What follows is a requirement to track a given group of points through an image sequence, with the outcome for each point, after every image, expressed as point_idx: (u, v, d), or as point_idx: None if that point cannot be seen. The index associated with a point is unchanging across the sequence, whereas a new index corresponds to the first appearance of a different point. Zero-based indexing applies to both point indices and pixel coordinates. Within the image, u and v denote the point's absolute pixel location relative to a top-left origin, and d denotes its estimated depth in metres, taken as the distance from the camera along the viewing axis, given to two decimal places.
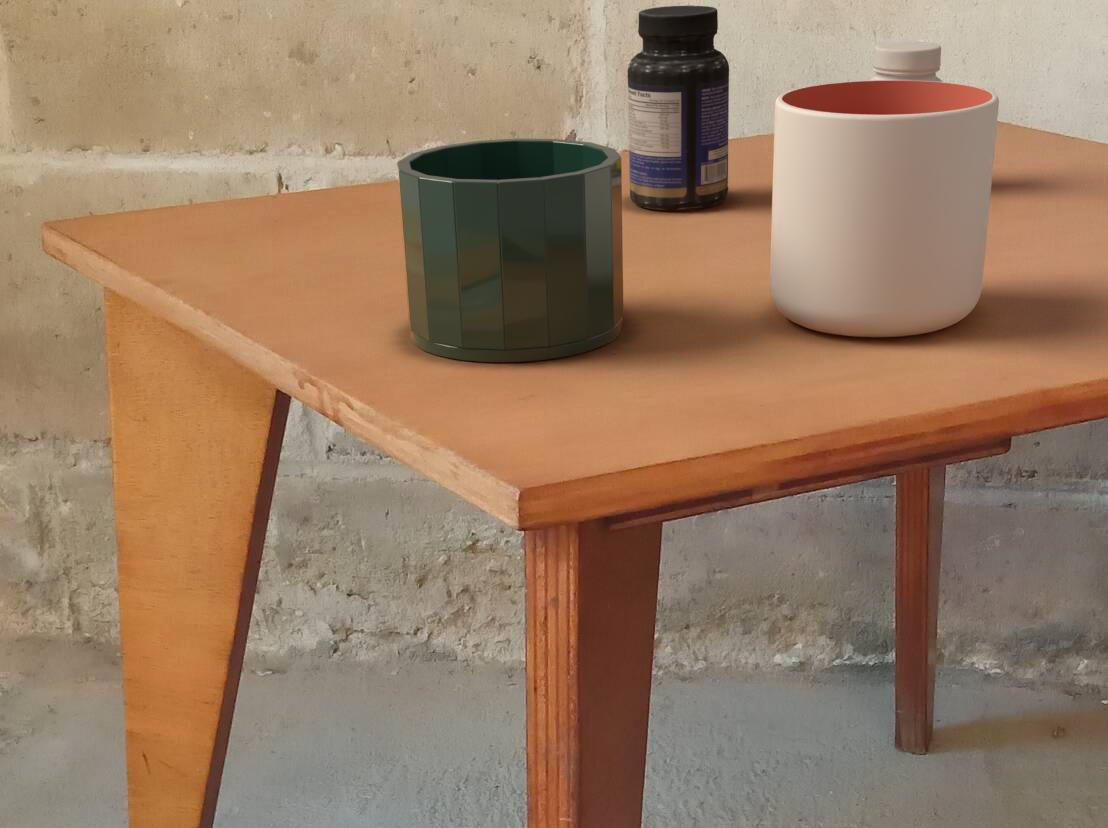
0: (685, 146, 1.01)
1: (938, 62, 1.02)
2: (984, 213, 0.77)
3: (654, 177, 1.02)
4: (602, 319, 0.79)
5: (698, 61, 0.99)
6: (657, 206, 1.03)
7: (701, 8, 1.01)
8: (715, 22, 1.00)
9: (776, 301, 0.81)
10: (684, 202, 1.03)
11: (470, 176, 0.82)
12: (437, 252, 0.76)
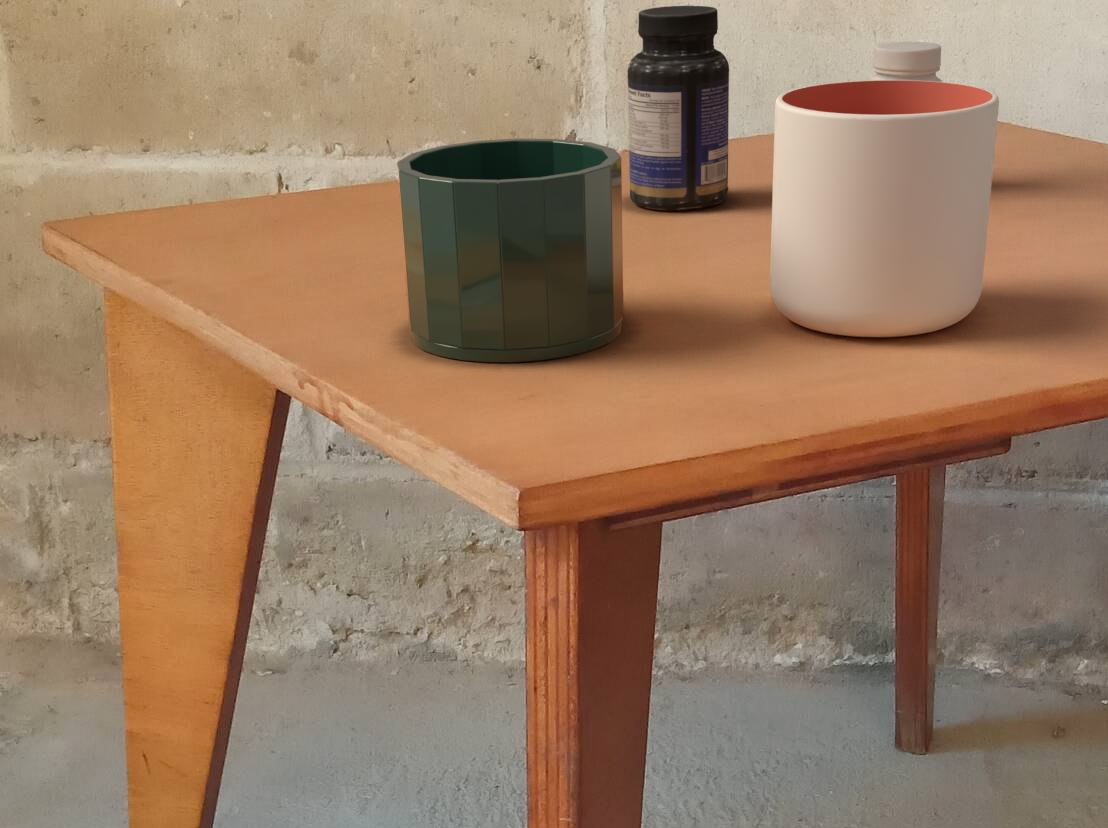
0: (685, 146, 1.01)
1: (938, 62, 1.02)
2: (984, 213, 0.77)
3: (654, 177, 1.02)
4: (602, 319, 0.79)
5: (698, 61, 0.99)
6: (657, 206, 1.03)
7: (701, 8, 1.01)
8: (715, 22, 1.00)
9: (776, 301, 0.81)
10: (684, 202, 1.03)
11: (470, 176, 0.82)
12: (437, 252, 0.76)
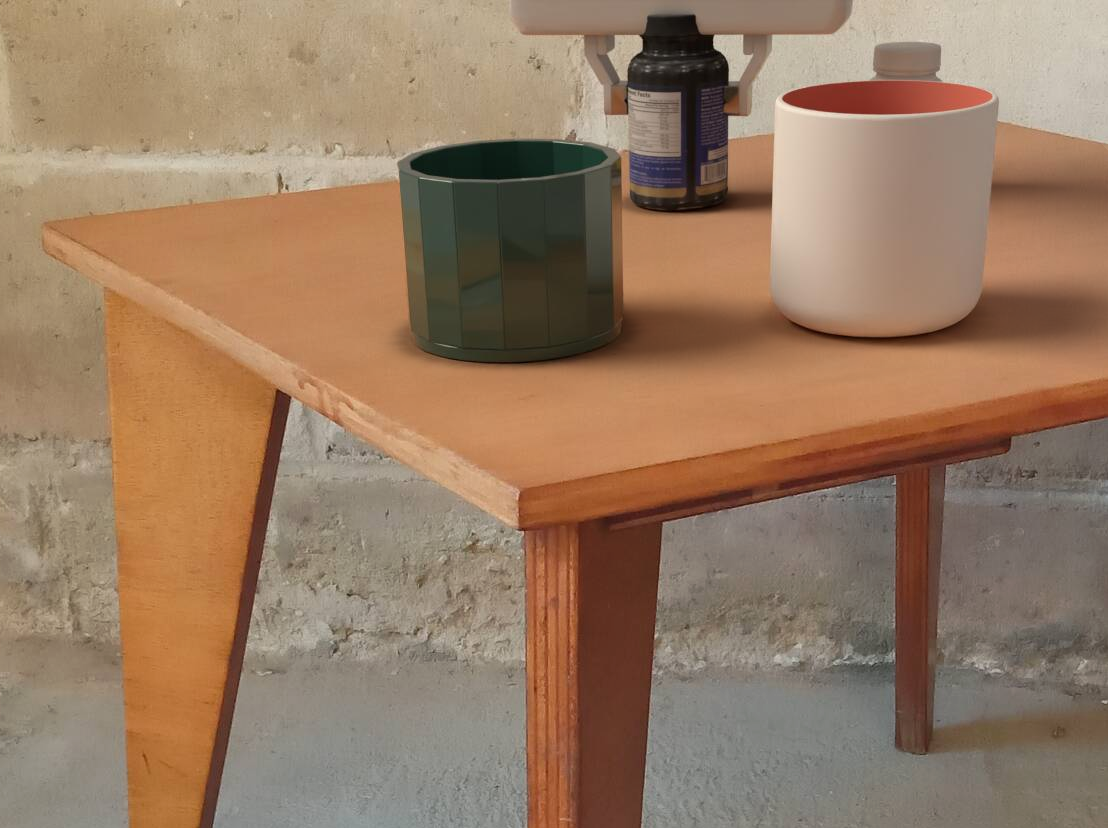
0: (685, 146, 1.01)
1: (938, 62, 1.02)
2: (984, 213, 0.77)
3: (654, 177, 1.02)
4: (602, 319, 0.79)
5: (698, 61, 0.99)
6: (657, 206, 1.03)
7: None
8: None
9: (776, 301, 0.81)
10: (684, 202, 1.03)
11: (470, 176, 0.82)
12: (437, 252, 0.76)
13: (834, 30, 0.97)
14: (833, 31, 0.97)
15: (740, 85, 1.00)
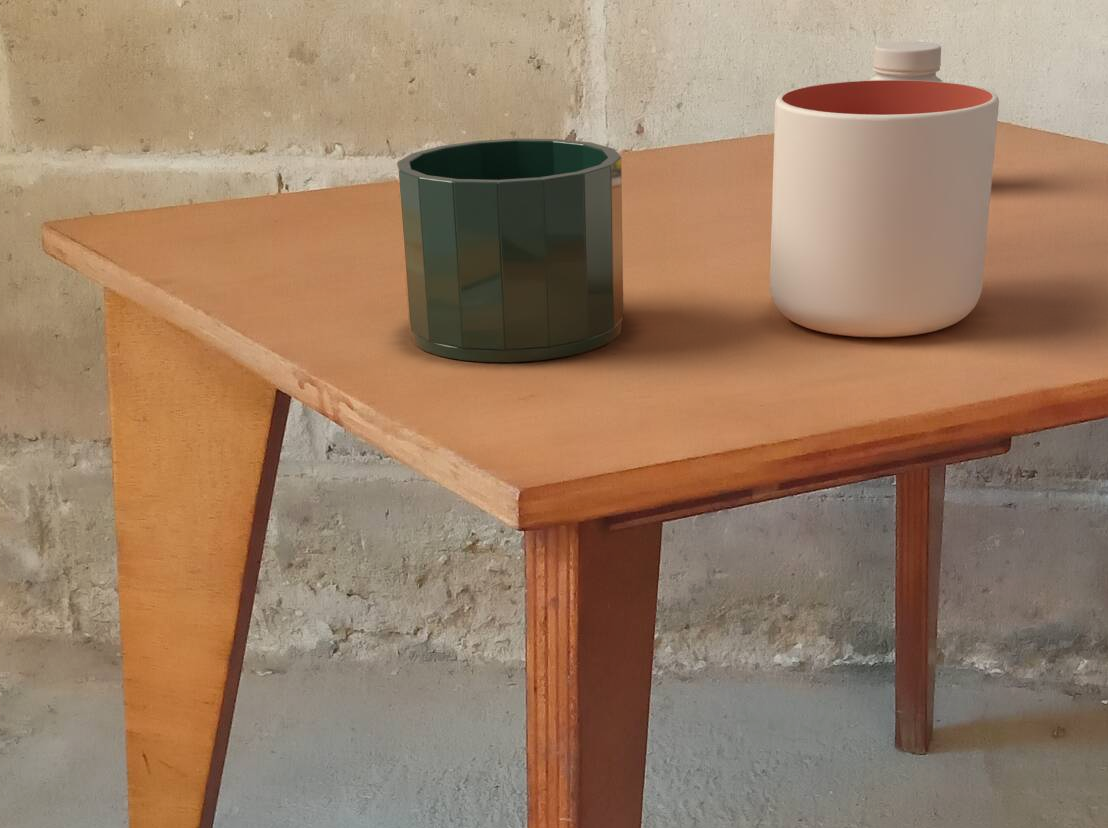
0: None
1: (938, 62, 1.02)
2: (984, 213, 0.77)
3: None
4: (602, 319, 0.79)
5: None
6: None
7: None
8: None
9: (776, 301, 0.81)
10: None
11: (470, 176, 0.82)
12: (437, 252, 0.76)
13: None
14: None
15: None
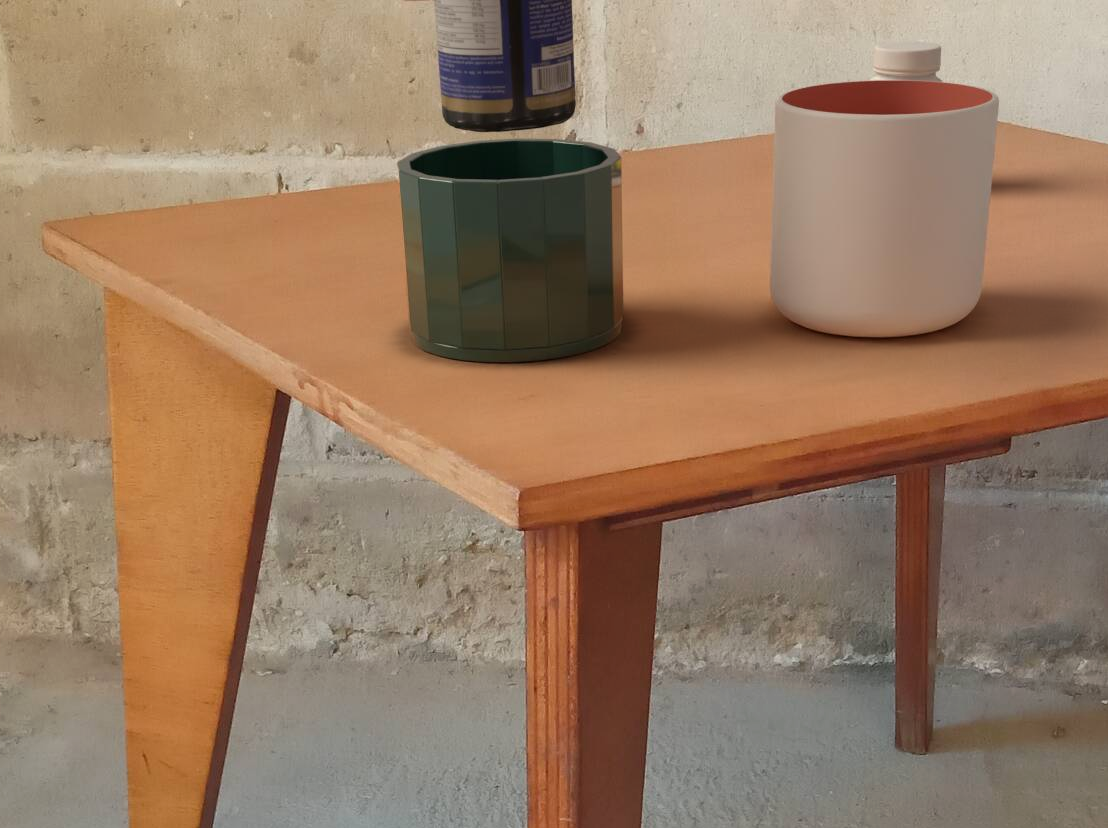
0: (508, 40, 0.73)
1: (938, 62, 1.02)
2: (984, 213, 0.77)
3: (468, 85, 0.74)
4: (602, 319, 0.79)
5: None
6: (474, 125, 0.75)
7: None
8: None
9: (776, 301, 0.81)
10: (510, 119, 0.74)
11: (470, 176, 0.82)
12: (437, 252, 0.76)
13: None
14: None
15: None
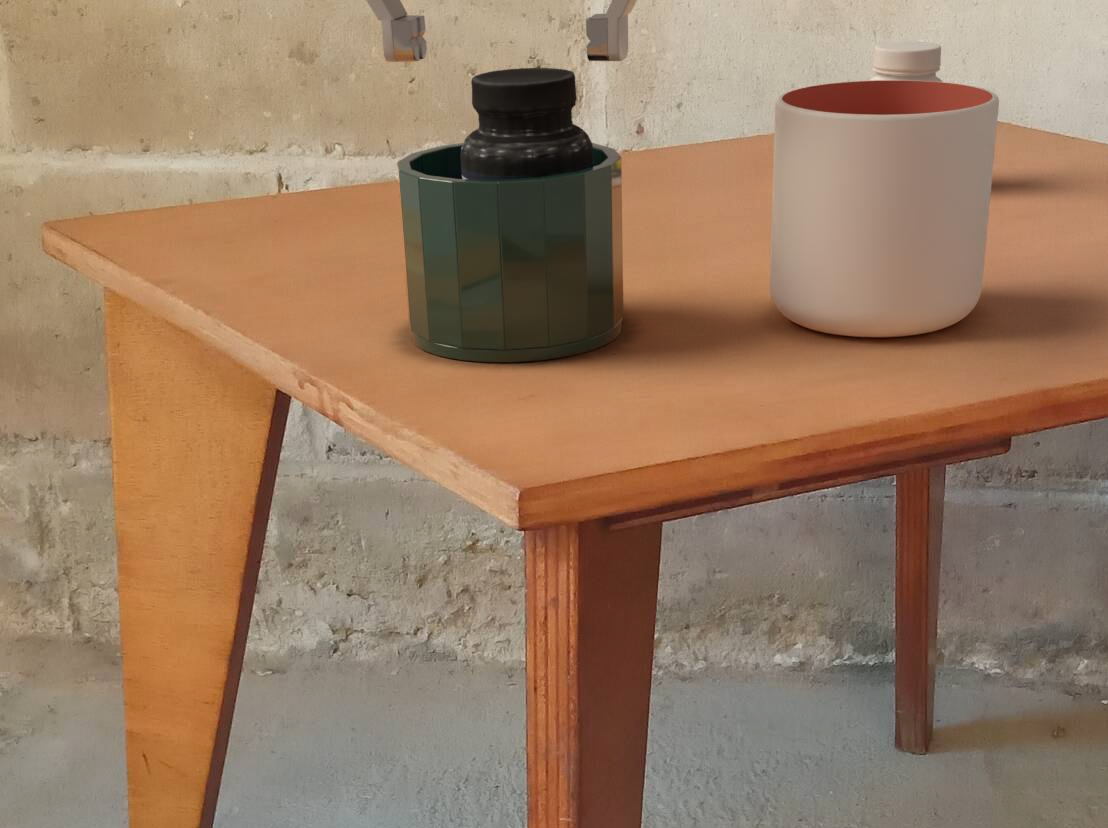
0: None
1: (938, 62, 1.02)
2: (984, 213, 0.77)
3: None
4: (602, 319, 0.79)
5: (549, 143, 0.75)
6: None
7: (554, 72, 0.76)
8: (571, 91, 0.75)
9: (776, 301, 0.81)
10: None
11: None
12: (437, 252, 0.76)
13: None
14: None
15: (608, 17, 0.73)
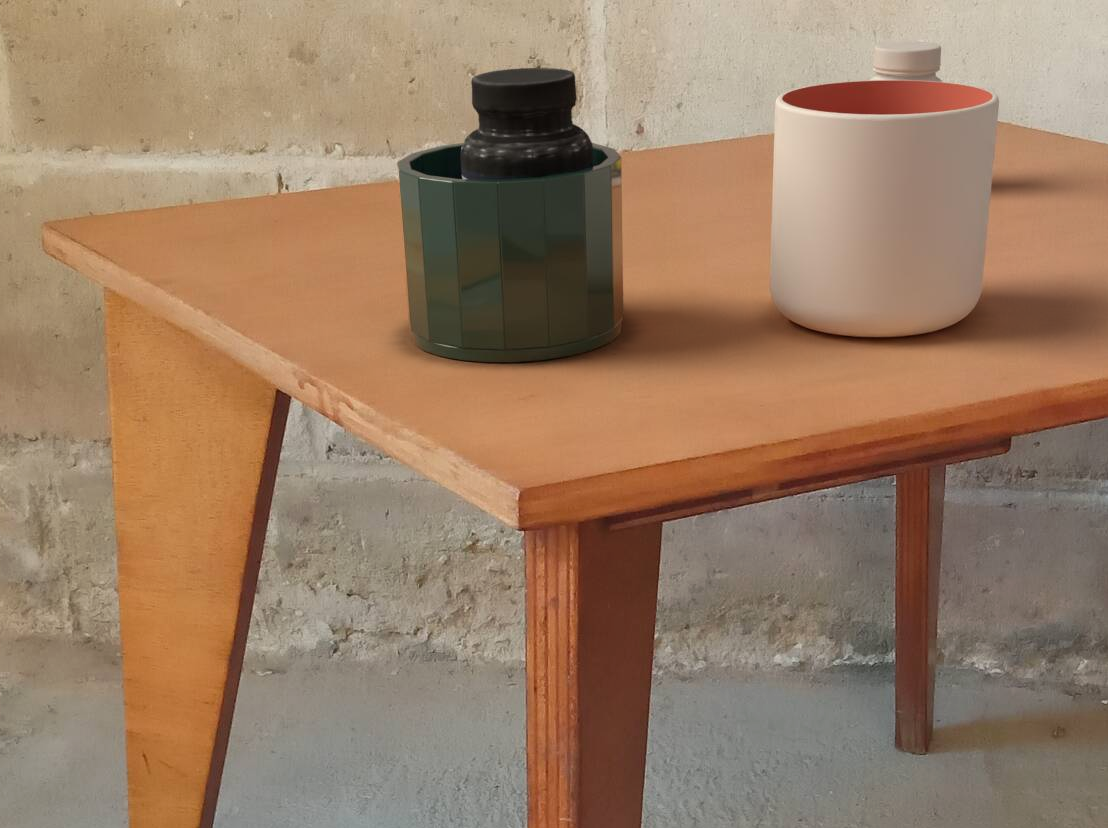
0: None
1: (938, 62, 1.02)
2: (984, 213, 0.77)
3: None
4: (602, 319, 0.79)
5: (549, 143, 0.75)
6: None
7: (554, 72, 0.76)
8: (571, 91, 0.75)
9: (776, 301, 0.81)
10: None
11: None
12: (437, 252, 0.76)
13: None
14: None
15: None
